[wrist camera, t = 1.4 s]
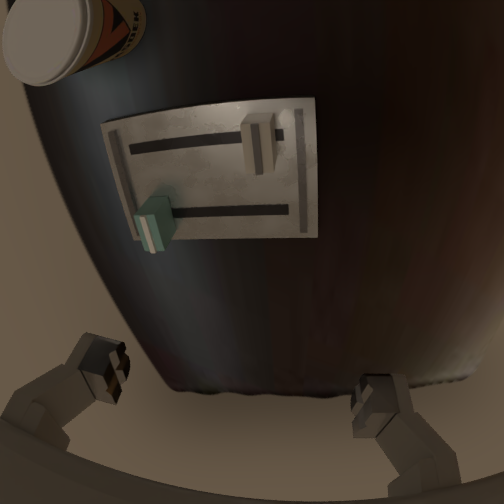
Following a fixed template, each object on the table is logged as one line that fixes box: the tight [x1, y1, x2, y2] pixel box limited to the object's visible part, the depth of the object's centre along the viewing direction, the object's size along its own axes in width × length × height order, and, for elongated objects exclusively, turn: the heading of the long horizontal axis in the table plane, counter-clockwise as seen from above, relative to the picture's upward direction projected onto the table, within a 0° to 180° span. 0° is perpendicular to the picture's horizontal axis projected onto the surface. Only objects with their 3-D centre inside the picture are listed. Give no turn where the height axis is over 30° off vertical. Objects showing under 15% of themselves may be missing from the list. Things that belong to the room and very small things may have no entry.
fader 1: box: [134, 196, 176, 253], centre depth 34 cm, size 2×4×4 cm, turn 6°
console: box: [100, 95, 318, 240], centre depth 33 cm, size 22×15×2 cm
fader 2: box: [240, 113, 277, 175], centre depth 27 cm, size 2×4×4 cm, turn 6°
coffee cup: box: [2, 0, 146, 86], centre depth 20 cm, size 9×9×12 cm
